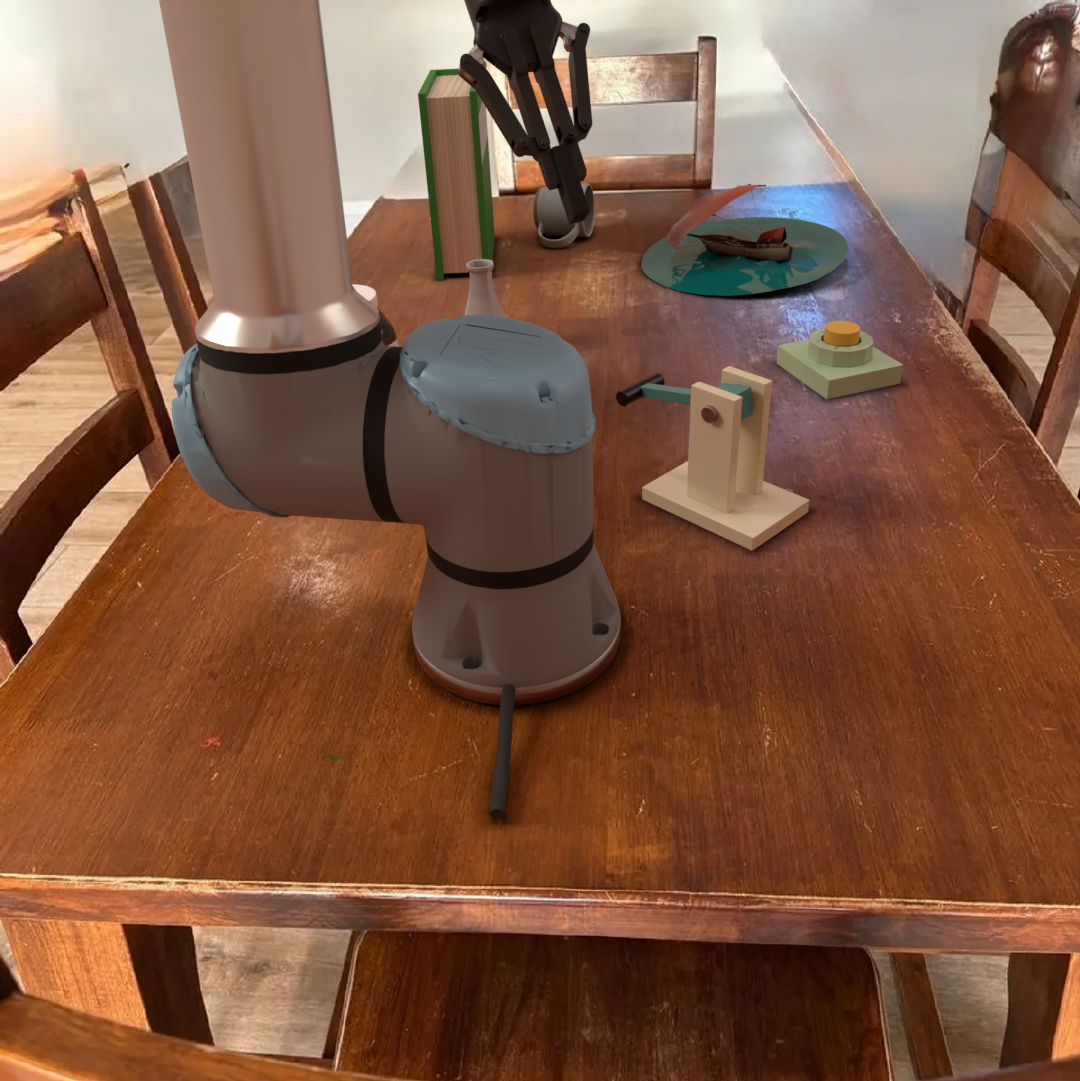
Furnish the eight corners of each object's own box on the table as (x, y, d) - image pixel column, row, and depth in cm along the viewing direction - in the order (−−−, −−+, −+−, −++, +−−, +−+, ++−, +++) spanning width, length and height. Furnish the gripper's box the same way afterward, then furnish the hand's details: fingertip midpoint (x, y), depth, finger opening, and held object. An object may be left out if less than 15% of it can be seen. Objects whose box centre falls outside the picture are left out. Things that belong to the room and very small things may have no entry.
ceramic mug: (544, 226, 158) (542, 176, 154) (595, 228, 156) (595, 177, 152) (527, 249, 150) (524, 196, 145) (581, 251, 148) (579, 198, 143)
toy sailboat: (690, 223, 156) (687, 149, 150) (873, 234, 143) (878, 153, 136) (607, 295, 138) (599, 214, 132) (808, 316, 125) (810, 227, 118)
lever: (617, 410, 90) (613, 385, 89) (654, 392, 93) (651, 367, 91) (726, 429, 81) (723, 401, 80) (764, 408, 84) (761, 380, 83)
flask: (509, 359, 117) (503, 275, 111) (448, 356, 118) (440, 273, 112) (522, 334, 123) (517, 253, 117) (464, 332, 124) (457, 252, 118)
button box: (900, 383, 107) (906, 348, 105) (826, 399, 105) (831, 364, 102) (845, 349, 115) (850, 316, 113) (776, 363, 113) (779, 329, 110)
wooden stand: (641, 499, 90) (643, 377, 83) (698, 466, 94) (704, 348, 88) (752, 551, 83) (763, 422, 76) (808, 512, 87) (823, 387, 81)
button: (865, 345, 107) (867, 330, 106) (835, 351, 106) (837, 335, 105) (845, 333, 110) (847, 318, 109) (816, 339, 109) (818, 324, 108)
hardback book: (490, 277, 140) (476, 91, 127) (436, 279, 140) (417, 93, 127) (494, 238, 155) (483, 67, 141) (446, 240, 155) (430, 69, 141)
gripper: (556, -23, 98) (633, 212, 99) (428, 10, 96) (508, 249, 97) (571, -70, 90) (654, 184, 91) (432, -35, 88) (519, 224, 89)
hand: (579, 217), depth 94 cm, fingers closed
